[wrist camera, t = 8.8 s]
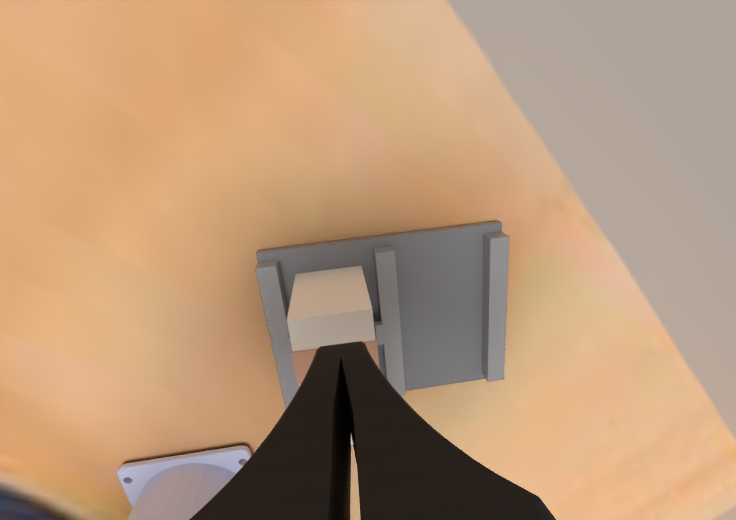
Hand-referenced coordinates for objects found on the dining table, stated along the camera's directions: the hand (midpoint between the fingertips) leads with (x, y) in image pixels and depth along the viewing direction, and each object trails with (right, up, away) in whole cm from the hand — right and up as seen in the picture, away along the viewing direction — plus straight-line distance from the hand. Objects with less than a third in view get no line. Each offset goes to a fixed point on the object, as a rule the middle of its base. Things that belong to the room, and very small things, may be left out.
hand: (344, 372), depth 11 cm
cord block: (-1, 0, +10) cm, 10 cm away
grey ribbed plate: (+2, 0, +11) cm, 11 cm away
